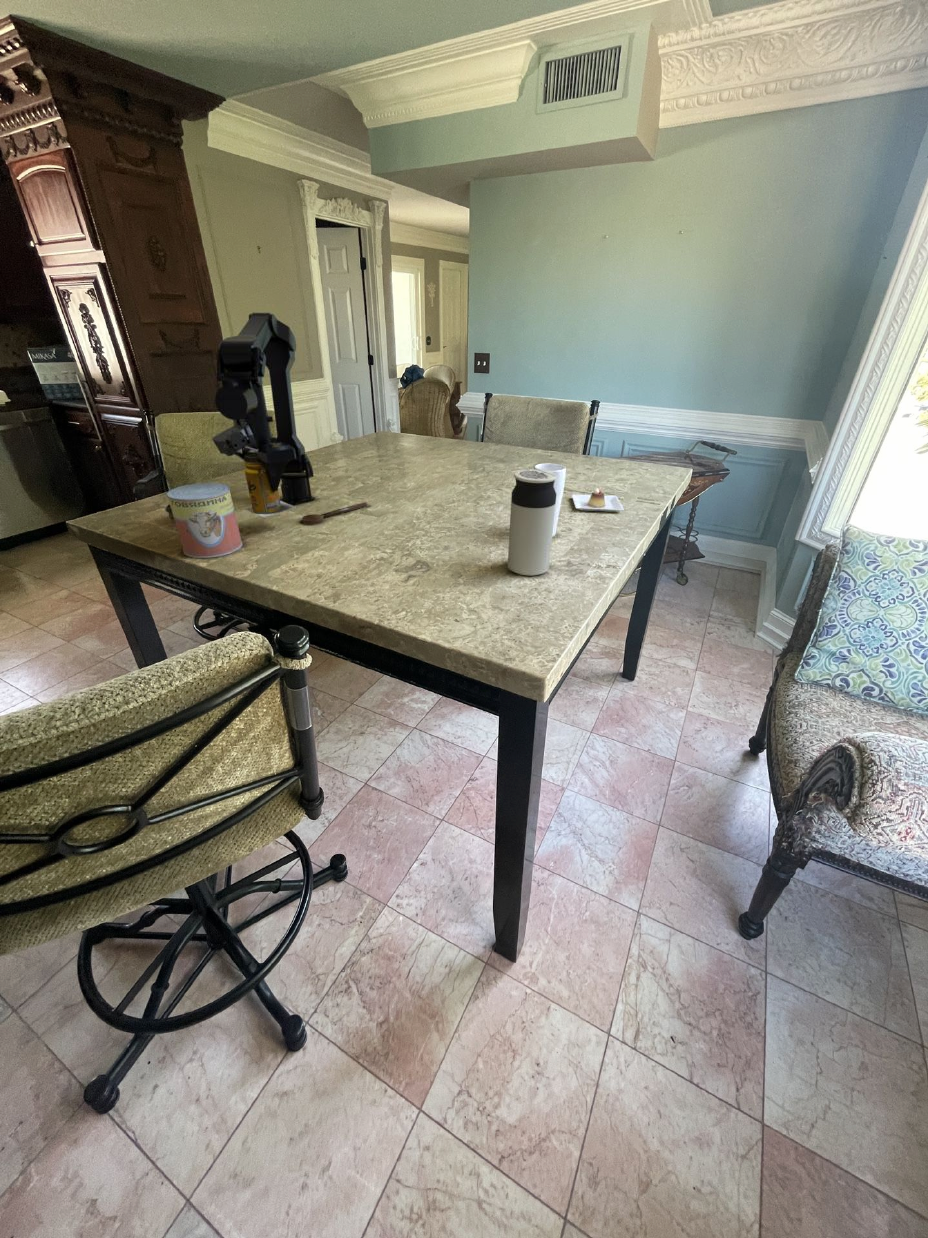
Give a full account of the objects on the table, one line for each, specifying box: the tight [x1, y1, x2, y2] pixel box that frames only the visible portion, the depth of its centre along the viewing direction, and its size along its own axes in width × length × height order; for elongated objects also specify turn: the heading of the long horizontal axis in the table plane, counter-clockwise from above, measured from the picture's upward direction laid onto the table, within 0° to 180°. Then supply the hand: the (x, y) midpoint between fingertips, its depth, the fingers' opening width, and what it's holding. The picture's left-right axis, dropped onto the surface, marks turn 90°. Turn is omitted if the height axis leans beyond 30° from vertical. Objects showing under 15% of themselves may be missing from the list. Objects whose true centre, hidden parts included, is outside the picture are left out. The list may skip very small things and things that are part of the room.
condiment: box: [243, 452, 297, 518], centre depth 108 cm, size 7×8×12 cm
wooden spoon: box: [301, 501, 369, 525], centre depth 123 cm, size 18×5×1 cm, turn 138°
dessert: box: [571, 487, 625, 513], centre depth 130 cm, size 12×12×5 cm
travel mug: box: [507, 469, 557, 577], centre depth 93 cm, size 8×8×18 cm
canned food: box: [166, 482, 243, 559], centre depth 101 cm, size 11×11×12 cm
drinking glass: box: [533, 462, 567, 538], centre depth 109 cm, size 7×7×15 cm
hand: (267, 488), depth 109 cm, fingers closed on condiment, 6 cm apart
